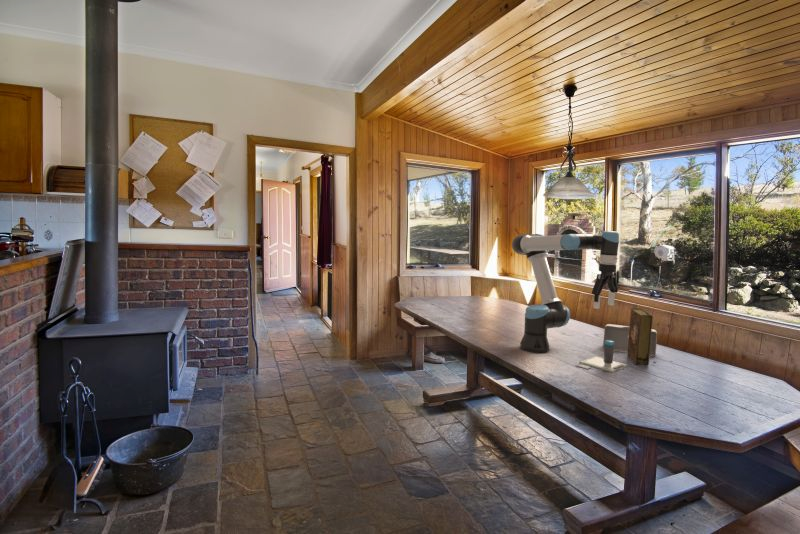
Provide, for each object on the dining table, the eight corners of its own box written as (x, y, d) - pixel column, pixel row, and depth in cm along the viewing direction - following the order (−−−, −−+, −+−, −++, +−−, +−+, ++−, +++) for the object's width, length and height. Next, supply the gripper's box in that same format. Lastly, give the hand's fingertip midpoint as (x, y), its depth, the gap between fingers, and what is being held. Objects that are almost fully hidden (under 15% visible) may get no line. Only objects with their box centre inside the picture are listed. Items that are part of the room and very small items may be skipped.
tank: (654, 349, 246) (656, 327, 244) (655, 357, 232) (657, 333, 230) (604, 342, 257) (606, 321, 256) (602, 349, 243) (604, 327, 242)
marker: (601, 365, 213) (603, 341, 212) (605, 364, 216) (607, 339, 214) (609, 368, 210) (611, 343, 209) (614, 366, 213) (615, 341, 211)
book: (626, 355, 234) (630, 308, 231) (637, 356, 233) (641, 308, 230) (636, 365, 218) (640, 314, 215) (648, 366, 217) (653, 315, 214)
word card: (575, 365, 215) (575, 365, 215) (579, 364, 218) (579, 363, 217) (587, 369, 210) (587, 368, 210) (591, 367, 213) (591, 366, 213)
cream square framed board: (579, 363, 219) (579, 360, 219) (595, 357, 229) (595, 354, 228) (612, 372, 207) (612, 369, 207) (627, 366, 216) (627, 363, 216)
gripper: (601, 266, 205) (597, 311, 208) (628, 263, 220) (623, 305, 223) (586, 263, 211) (582, 308, 214) (613, 261, 226) (609, 302, 229)
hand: (603, 306), depth 218 cm, fingers open, 13 cm apart
